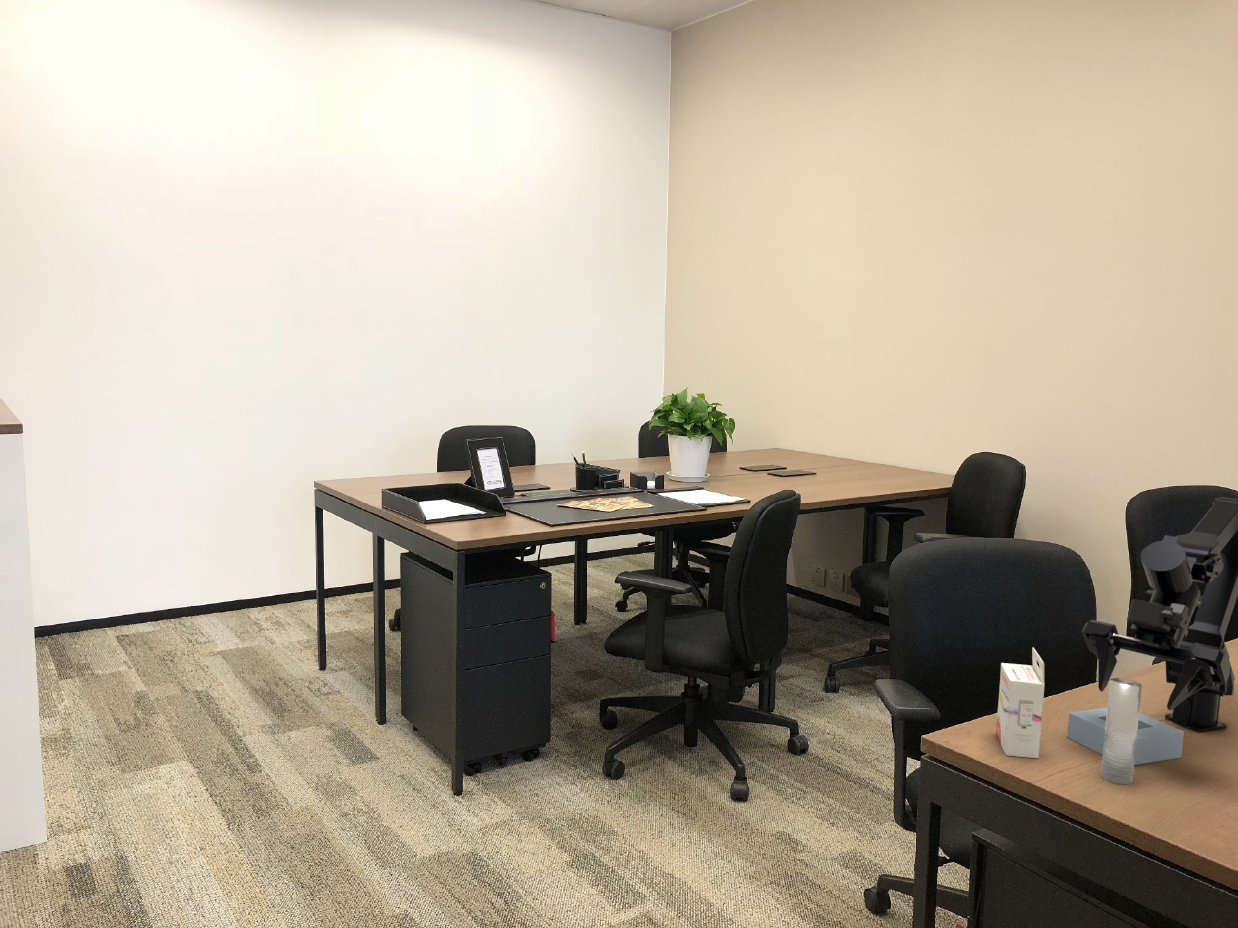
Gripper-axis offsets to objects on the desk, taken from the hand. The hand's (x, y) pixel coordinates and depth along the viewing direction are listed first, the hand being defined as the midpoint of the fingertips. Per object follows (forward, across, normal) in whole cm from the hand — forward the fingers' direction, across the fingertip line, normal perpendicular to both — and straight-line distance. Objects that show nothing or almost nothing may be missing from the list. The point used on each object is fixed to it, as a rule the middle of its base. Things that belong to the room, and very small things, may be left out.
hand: (1133, 698), depth 137 cm
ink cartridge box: (+11, -14, +5) cm, 19 cm away
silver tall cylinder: (+10, 0, +5) cm, 11 cm away
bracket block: (+1, -4, +14) cm, 14 cm away
